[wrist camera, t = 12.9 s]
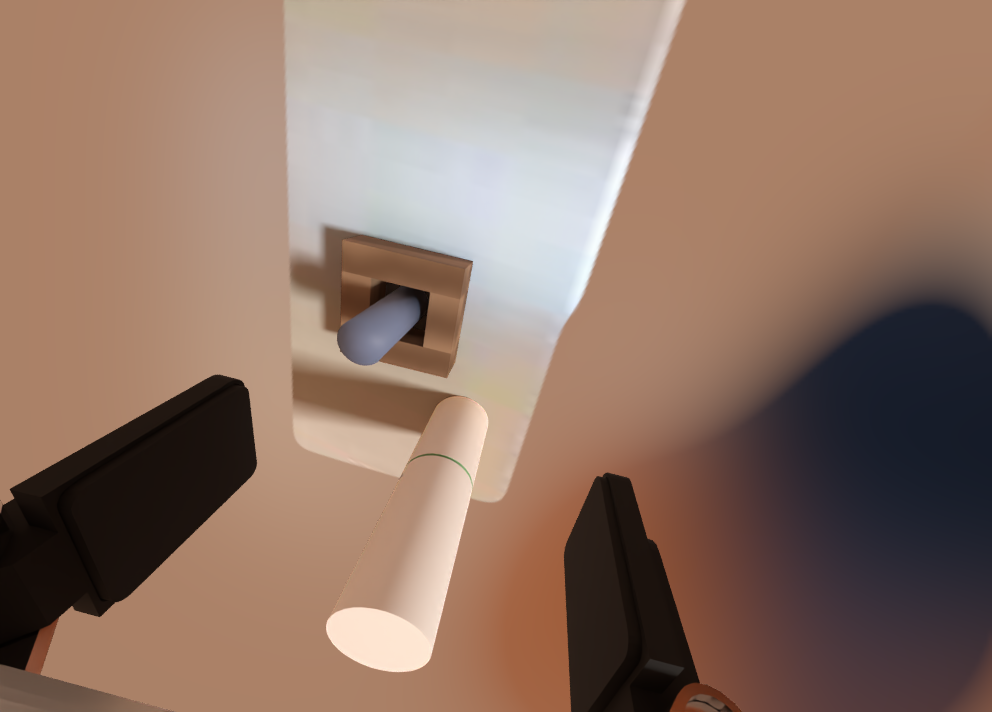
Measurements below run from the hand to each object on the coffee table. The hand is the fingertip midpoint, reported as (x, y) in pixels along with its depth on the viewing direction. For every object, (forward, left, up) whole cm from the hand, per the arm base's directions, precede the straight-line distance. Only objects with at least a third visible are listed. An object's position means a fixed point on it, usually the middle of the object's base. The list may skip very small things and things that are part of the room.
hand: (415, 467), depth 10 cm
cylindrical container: (+21, -2, -31) cm, 37 cm away
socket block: (+7, -10, -30) cm, 33 cm away
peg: (+7, -10, -30) cm, 33 cm away
